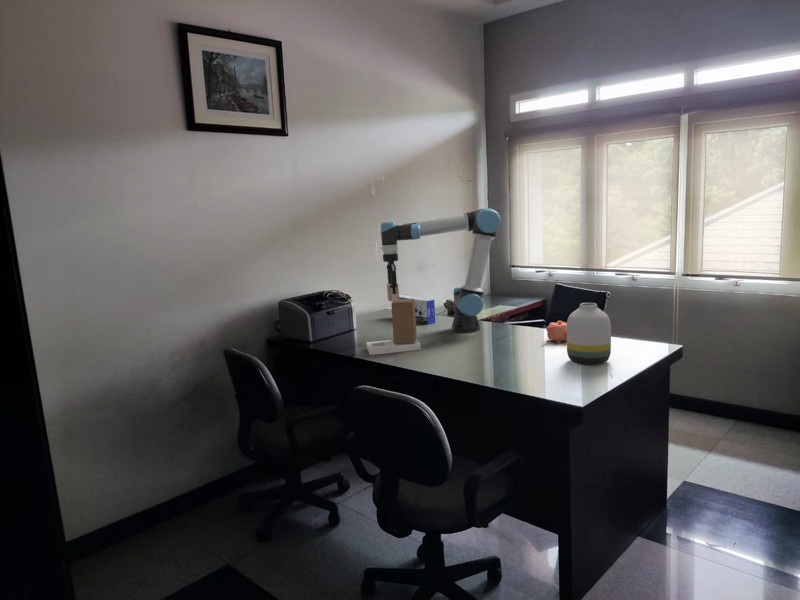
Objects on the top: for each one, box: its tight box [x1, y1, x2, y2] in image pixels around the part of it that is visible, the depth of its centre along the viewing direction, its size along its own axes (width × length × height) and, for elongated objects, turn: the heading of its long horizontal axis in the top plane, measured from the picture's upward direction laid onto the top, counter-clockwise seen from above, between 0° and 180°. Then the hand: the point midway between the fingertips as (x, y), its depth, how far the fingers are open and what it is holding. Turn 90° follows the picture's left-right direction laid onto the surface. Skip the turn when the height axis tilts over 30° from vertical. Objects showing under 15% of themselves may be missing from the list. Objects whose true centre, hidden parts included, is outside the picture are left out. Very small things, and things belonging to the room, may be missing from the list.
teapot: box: [545, 320, 567, 344], centre depth 262 cm, size 12×12×10 cm
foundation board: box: [365, 339, 421, 356], centre depth 266 cm, size 24×13×3 cm, turn 100°
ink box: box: [399, 294, 436, 326], centre depth 329 cm, size 30×7×14 cm, turn 40°
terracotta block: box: [386, 283, 400, 302], centre depth 280 cm, size 5×5×8 cm
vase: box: [566, 302, 612, 366], centre depth 225 cm, size 17×17×24 cm
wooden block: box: [391, 299, 418, 344], centre depth 266 cm, size 10×10×20 cm
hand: (393, 299), depth 280 cm, fingers closed on terracotta block, 5 cm apart
